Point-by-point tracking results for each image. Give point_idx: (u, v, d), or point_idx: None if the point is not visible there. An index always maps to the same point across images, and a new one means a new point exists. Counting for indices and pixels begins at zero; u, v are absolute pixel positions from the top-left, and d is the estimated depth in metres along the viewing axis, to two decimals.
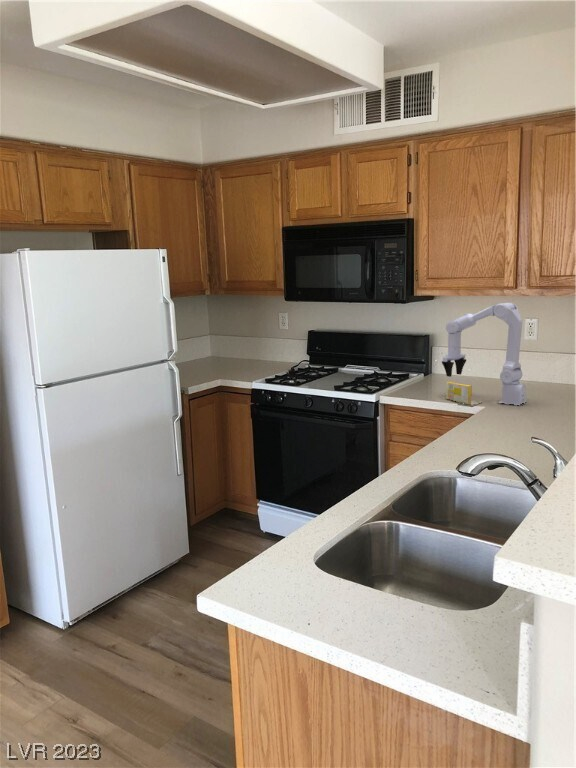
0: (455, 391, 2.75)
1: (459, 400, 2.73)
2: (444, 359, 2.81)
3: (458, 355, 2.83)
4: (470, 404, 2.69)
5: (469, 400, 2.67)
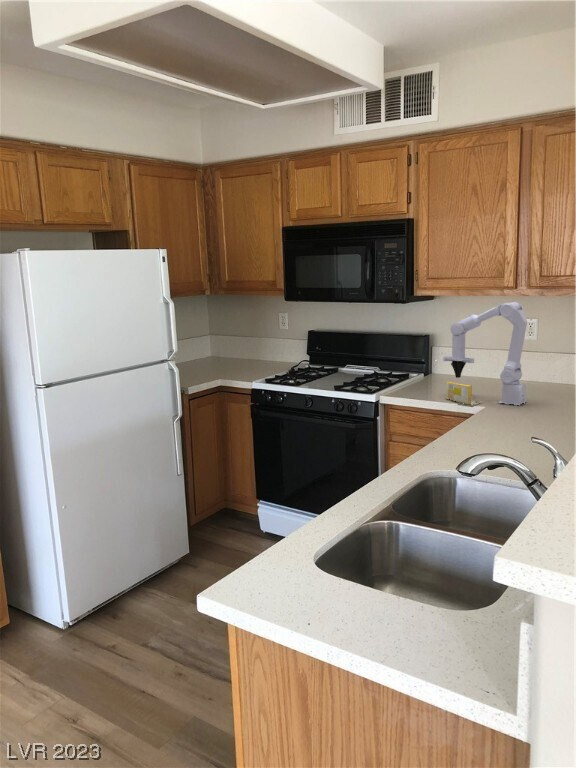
0: (455, 391, 2.75)
1: (459, 400, 2.73)
2: None
3: (454, 357, 2.81)
4: (470, 404, 2.69)
5: (469, 400, 2.67)
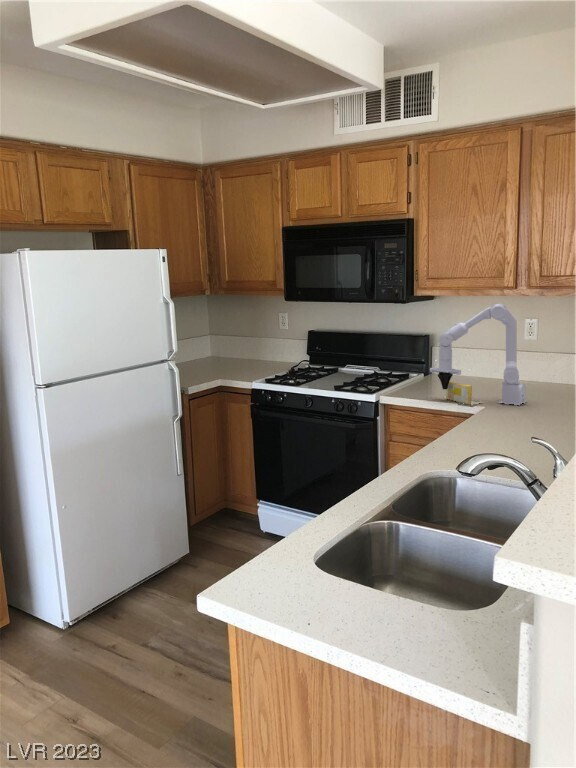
0: (455, 391, 2.75)
1: (459, 400, 2.73)
2: None
3: (441, 368, 2.75)
4: (470, 404, 2.69)
5: (469, 400, 2.67)
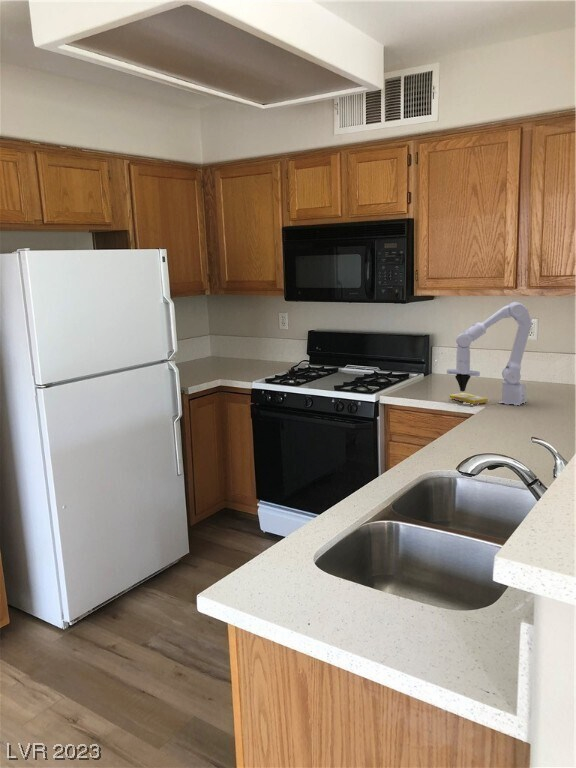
0: (467, 395, 2.78)
1: (465, 397, 2.73)
2: None
3: (459, 370, 2.69)
4: (470, 404, 2.69)
5: (476, 401, 2.68)
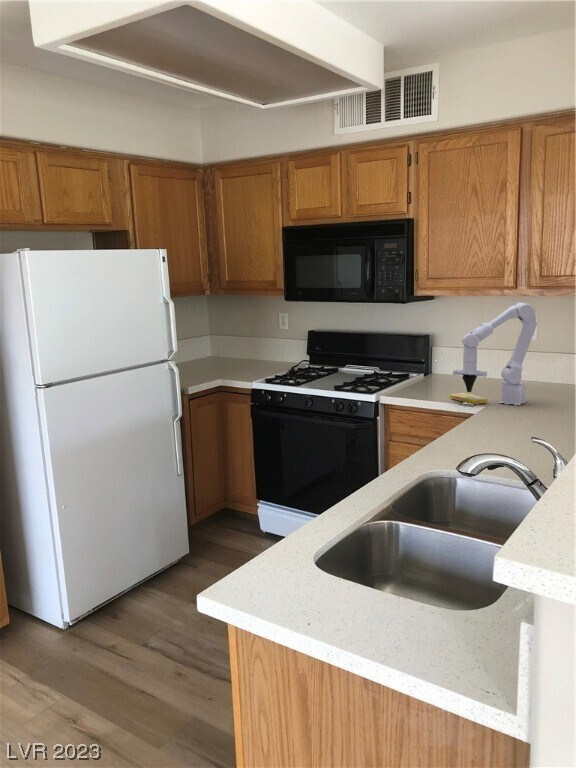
0: (467, 395, 2.78)
1: (465, 397, 2.73)
2: None
3: (466, 370, 2.67)
4: (470, 404, 2.69)
5: (476, 401, 2.68)
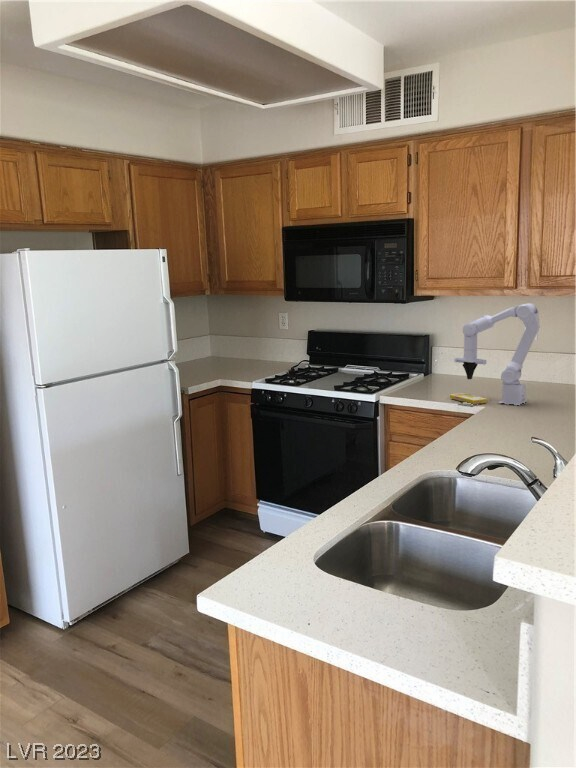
0: (467, 395, 2.78)
1: (465, 397, 2.73)
2: None
3: (466, 358, 2.76)
4: (470, 404, 2.69)
5: (476, 401, 2.68)
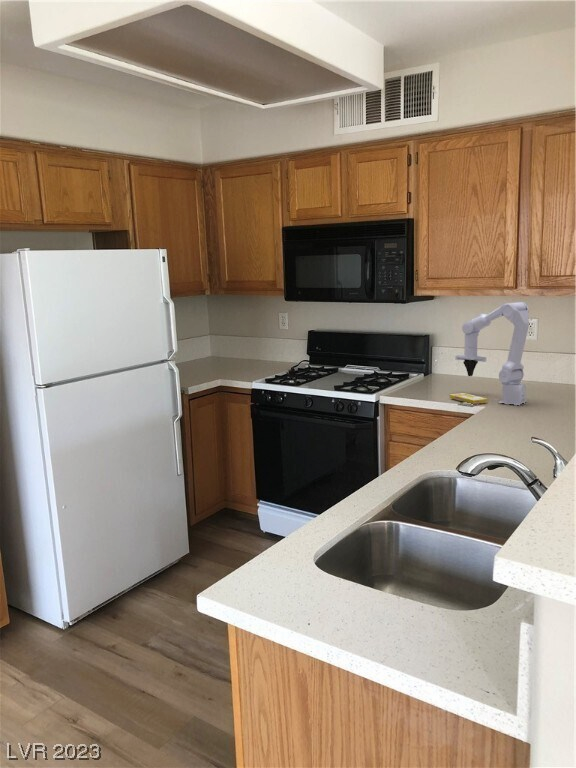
0: (467, 395, 2.78)
1: (465, 397, 2.73)
2: None
3: (466, 356, 2.84)
4: (470, 404, 2.69)
5: (476, 401, 2.68)
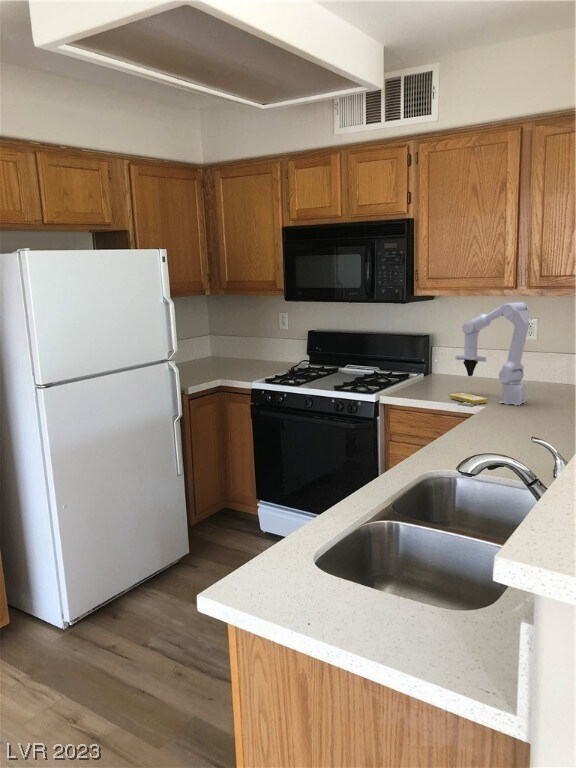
0: (467, 395, 2.78)
1: (465, 397, 2.73)
2: None
3: (466, 356, 2.84)
4: (470, 404, 2.69)
5: (476, 401, 2.68)
